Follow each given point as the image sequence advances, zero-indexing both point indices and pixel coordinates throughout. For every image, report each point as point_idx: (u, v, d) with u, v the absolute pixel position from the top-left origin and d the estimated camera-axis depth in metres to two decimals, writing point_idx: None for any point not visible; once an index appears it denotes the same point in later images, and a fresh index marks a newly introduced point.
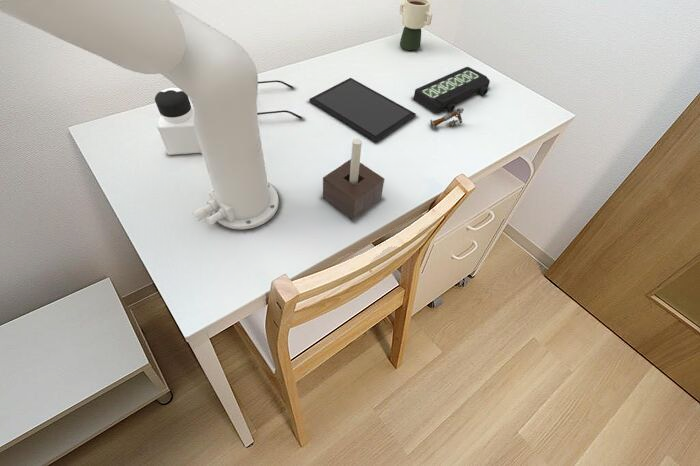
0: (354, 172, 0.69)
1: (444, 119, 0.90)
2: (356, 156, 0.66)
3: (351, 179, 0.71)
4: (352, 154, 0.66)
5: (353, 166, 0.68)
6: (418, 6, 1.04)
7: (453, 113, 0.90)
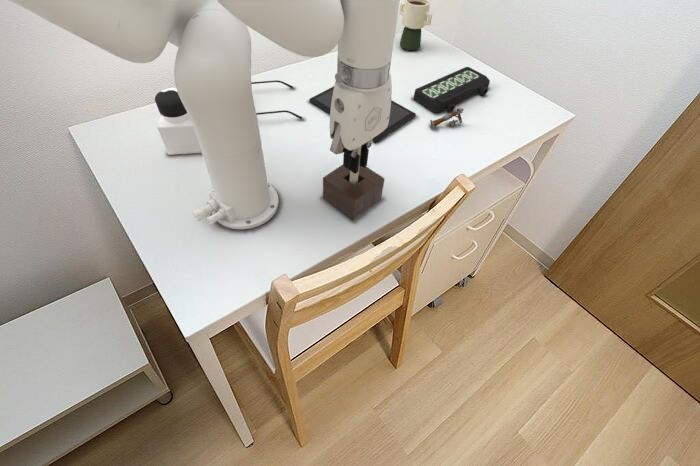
0: None
1: (444, 119, 0.90)
2: None
3: (351, 179, 0.71)
4: None
5: None
6: (418, 6, 1.04)
7: (453, 113, 0.90)
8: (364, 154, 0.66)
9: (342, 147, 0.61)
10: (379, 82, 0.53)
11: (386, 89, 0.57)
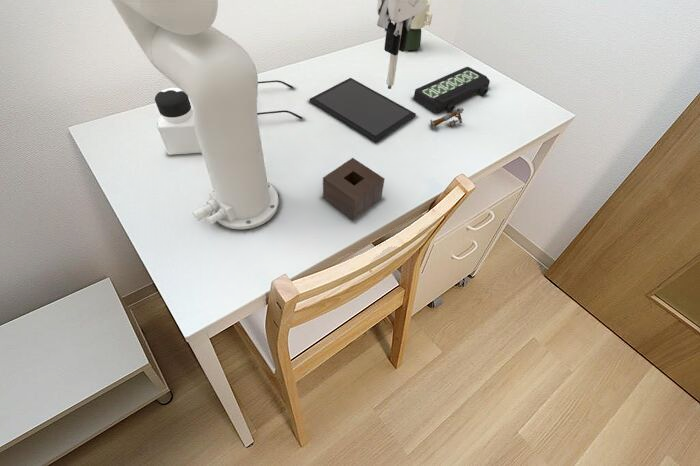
0: (394, 56, 0.78)
1: (444, 119, 0.90)
2: None
3: (391, 64, 0.80)
4: None
5: None
6: None
7: (453, 113, 0.90)
8: (403, 36, 0.76)
9: (387, 22, 0.71)
10: None
11: None
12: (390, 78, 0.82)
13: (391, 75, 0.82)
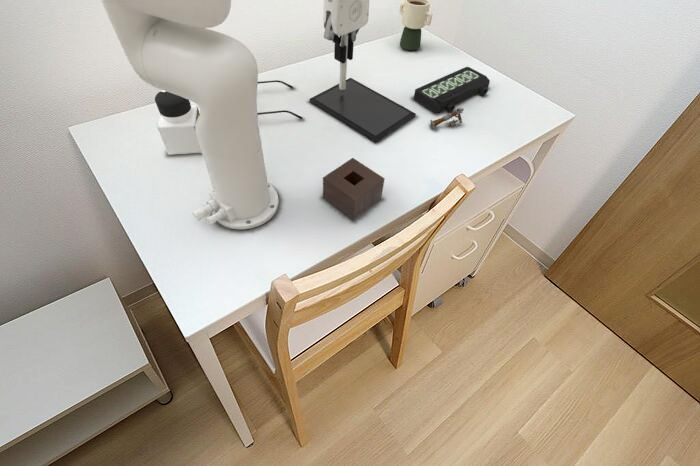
0: (343, 64, 0.89)
1: (444, 119, 0.90)
2: None
3: (341, 71, 0.91)
4: None
5: None
6: (418, 6, 1.04)
7: (453, 113, 0.90)
8: (350, 47, 0.87)
9: (333, 35, 0.82)
10: None
11: None
12: (341, 83, 0.93)
13: (342, 80, 0.93)
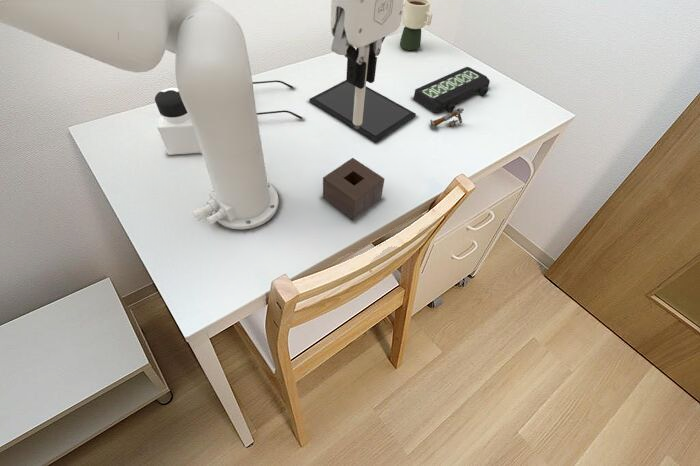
0: (360, 89, 0.58)
1: (444, 119, 0.90)
2: None
3: (356, 99, 0.60)
4: None
5: None
6: (418, 6, 1.04)
7: (453, 113, 0.90)
8: (371, 64, 0.56)
9: (346, 46, 0.51)
10: None
11: None
12: (356, 116, 0.62)
13: (358, 112, 0.62)
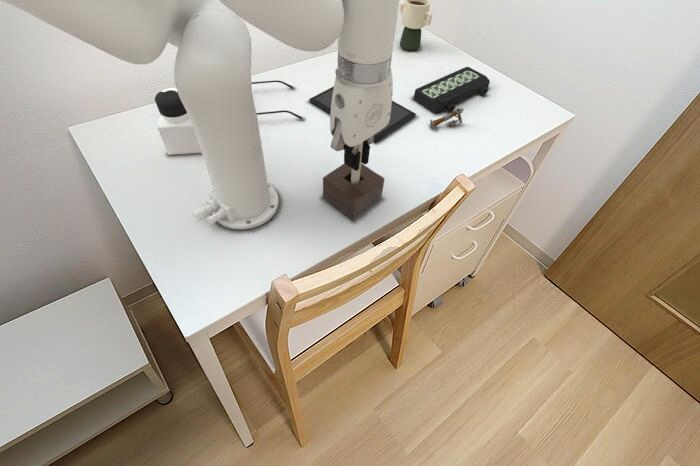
0: None
1: (444, 119, 0.90)
2: None
3: (353, 176, 0.70)
4: None
5: None
6: (418, 6, 1.04)
7: (453, 113, 0.90)
8: (365, 151, 0.66)
9: (343, 144, 0.61)
10: (380, 77, 0.52)
11: (387, 85, 0.57)
12: None
13: None
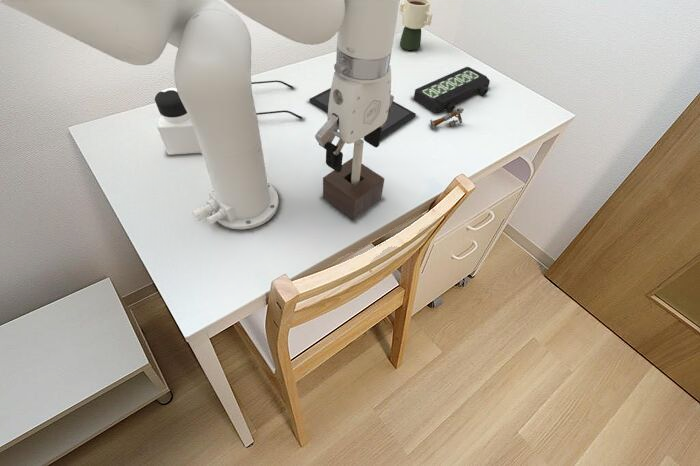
0: (356, 172, 0.69)
1: (444, 119, 0.90)
2: (358, 157, 0.66)
3: (353, 179, 0.71)
4: (354, 154, 0.66)
5: (355, 166, 0.68)
6: (418, 6, 1.04)
7: (453, 113, 0.90)
8: (377, 133, 0.66)
9: (327, 139, 0.57)
10: (379, 73, 0.52)
11: (386, 82, 0.56)
12: None
13: None
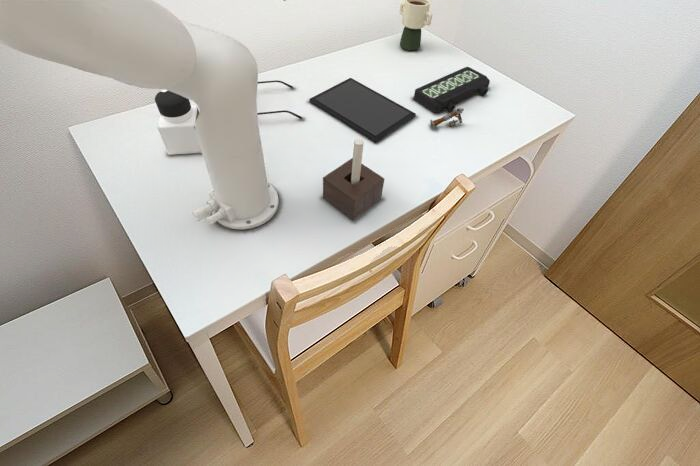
0: (356, 172, 0.69)
1: (444, 119, 0.90)
2: (358, 157, 0.66)
3: (353, 179, 0.71)
4: (354, 154, 0.66)
5: (355, 166, 0.68)
6: (418, 6, 1.04)
7: (453, 113, 0.90)
8: None
9: None
10: None
11: None
12: None
13: None
